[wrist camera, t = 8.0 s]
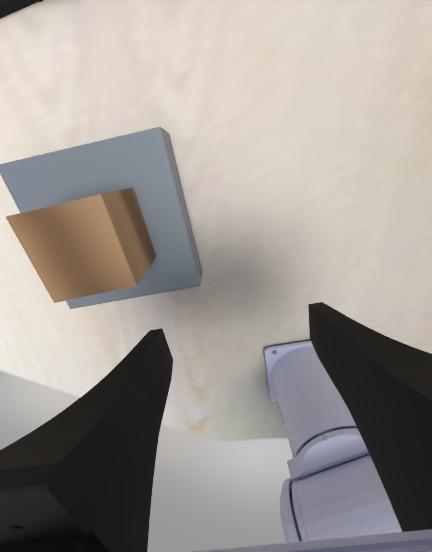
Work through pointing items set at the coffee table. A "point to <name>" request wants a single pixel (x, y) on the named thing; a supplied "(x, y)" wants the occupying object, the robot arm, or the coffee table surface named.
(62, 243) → the walnut cube
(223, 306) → the coffee table surface
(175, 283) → the slate block
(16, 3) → the handheld gaming console
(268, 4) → the coffee table surface
